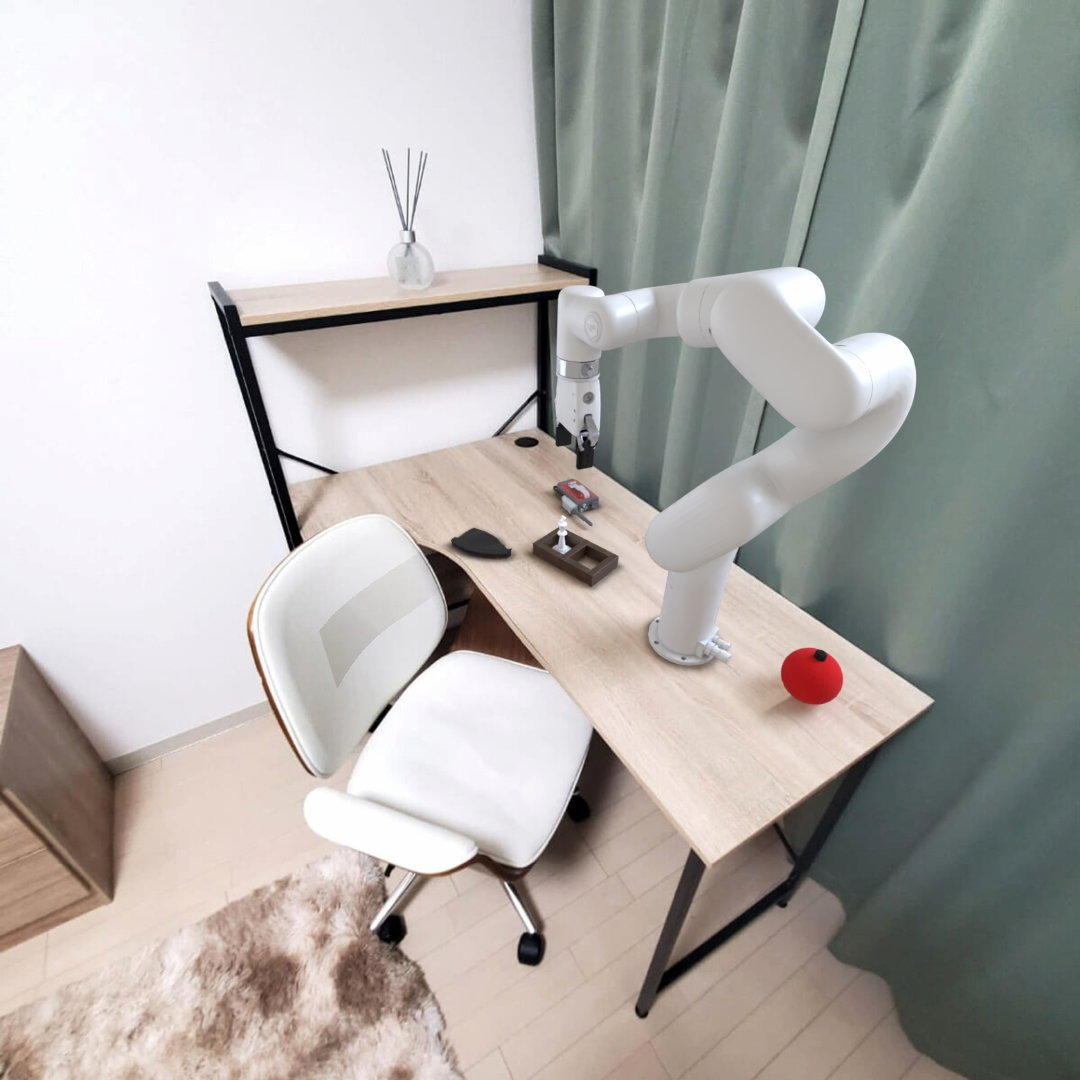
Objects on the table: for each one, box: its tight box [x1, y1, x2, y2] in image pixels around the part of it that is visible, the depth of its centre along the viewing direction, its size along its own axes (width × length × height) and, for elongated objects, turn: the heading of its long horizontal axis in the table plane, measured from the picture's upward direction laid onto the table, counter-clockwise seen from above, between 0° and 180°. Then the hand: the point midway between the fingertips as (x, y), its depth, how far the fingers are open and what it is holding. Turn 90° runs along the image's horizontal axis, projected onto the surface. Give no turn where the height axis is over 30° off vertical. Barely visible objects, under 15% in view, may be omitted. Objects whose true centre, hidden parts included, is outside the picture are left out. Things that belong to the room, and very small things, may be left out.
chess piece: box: [552, 514, 572, 554], centre depth 117 cm, size 5×5×10 cm
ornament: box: [780, 647, 844, 706], centre depth 85 cm, size 9×9×10 cm
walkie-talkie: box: [552, 478, 600, 527], centre depth 134 cm, size 9×4×20 cm
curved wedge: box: [450, 527, 513, 559], centre depth 121 cm, size 8×14×2 cm, turn 52°
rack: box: [532, 527, 619, 588], centre depth 117 cm, size 17×9×3 cm, turn 47°
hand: (573, 456), depth 101 cm, fingers open, 9 cm apart
